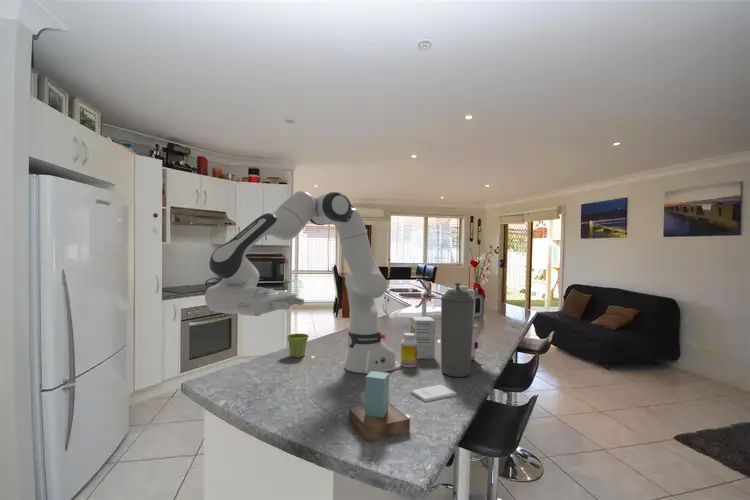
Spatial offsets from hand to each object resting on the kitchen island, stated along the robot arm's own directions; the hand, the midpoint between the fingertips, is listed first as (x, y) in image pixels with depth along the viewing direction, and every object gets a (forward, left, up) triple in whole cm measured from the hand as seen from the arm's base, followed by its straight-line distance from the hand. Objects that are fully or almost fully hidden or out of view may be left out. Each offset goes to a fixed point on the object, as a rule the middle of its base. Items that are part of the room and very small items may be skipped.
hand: (296, 304), depth 108 cm
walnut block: (-17, +22, -30) cm, 41 cm away
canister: (-64, -6, -30) cm, 71 cm away
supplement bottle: (-52, -20, -30) cm, 64 cm away
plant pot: (-13, -50, -30) cm, 60 cm away
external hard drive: (-44, +9, -31) cm, 54 cm away
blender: (-79, -19, -30) cm, 87 cm away
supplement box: (-65, -31, -30) cm, 78 cm away
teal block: (-17, +21, -26) cm, 38 cm away
